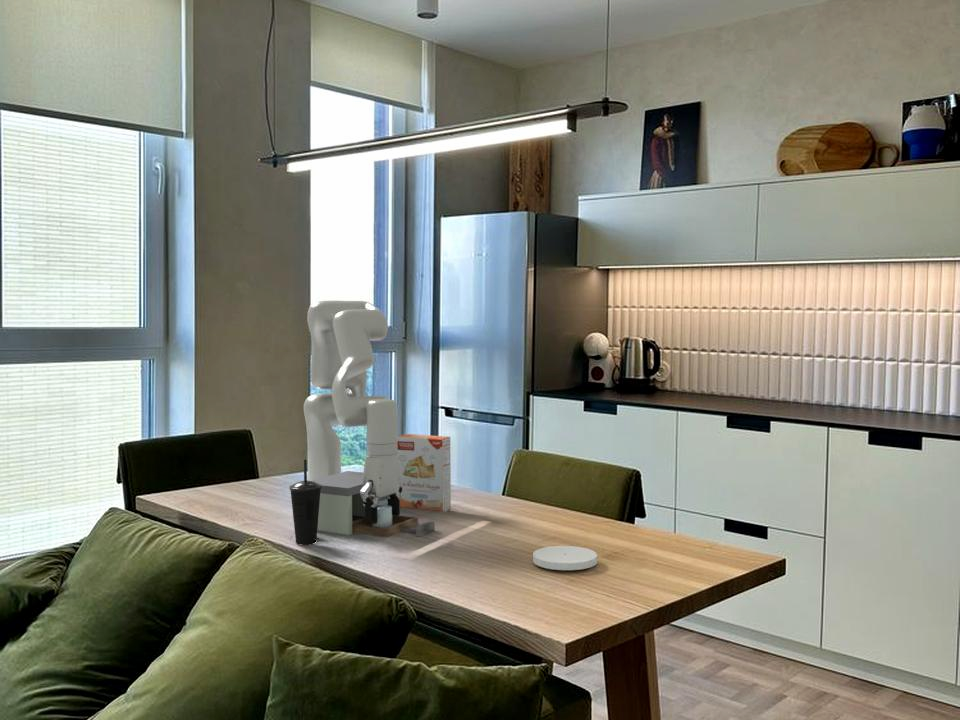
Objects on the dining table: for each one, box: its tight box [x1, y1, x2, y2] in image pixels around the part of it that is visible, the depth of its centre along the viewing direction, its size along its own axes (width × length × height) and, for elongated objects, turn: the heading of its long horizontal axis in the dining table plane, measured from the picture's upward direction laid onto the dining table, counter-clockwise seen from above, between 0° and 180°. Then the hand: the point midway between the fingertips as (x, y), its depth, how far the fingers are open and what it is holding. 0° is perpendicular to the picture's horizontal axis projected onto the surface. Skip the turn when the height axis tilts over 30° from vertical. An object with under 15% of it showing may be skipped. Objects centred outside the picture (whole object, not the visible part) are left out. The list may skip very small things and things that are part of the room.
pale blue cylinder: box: [372, 505, 392, 528], centre depth 221 cm, size 5×5×6 cm
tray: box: [352, 514, 436, 538], centre depth 223 cm, size 14×19×3 cm
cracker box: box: [397, 433, 452, 513], centre depth 248 cm, size 14×6×21 cm, turn 68°
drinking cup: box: [288, 459, 322, 546], centre depth 214 cm, size 8×8×20 cm
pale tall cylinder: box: [376, 499, 393, 524], centre depth 228 cm, size 5×5×6 cm
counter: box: [312, 470, 389, 536], centre depth 227 cm, size 19×25×12 cm
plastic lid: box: [532, 545, 598, 571], centre depth 196 cm, size 14×14×2 cm
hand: (382, 518), depth 221 cm, fingers open, 9 cm apart
